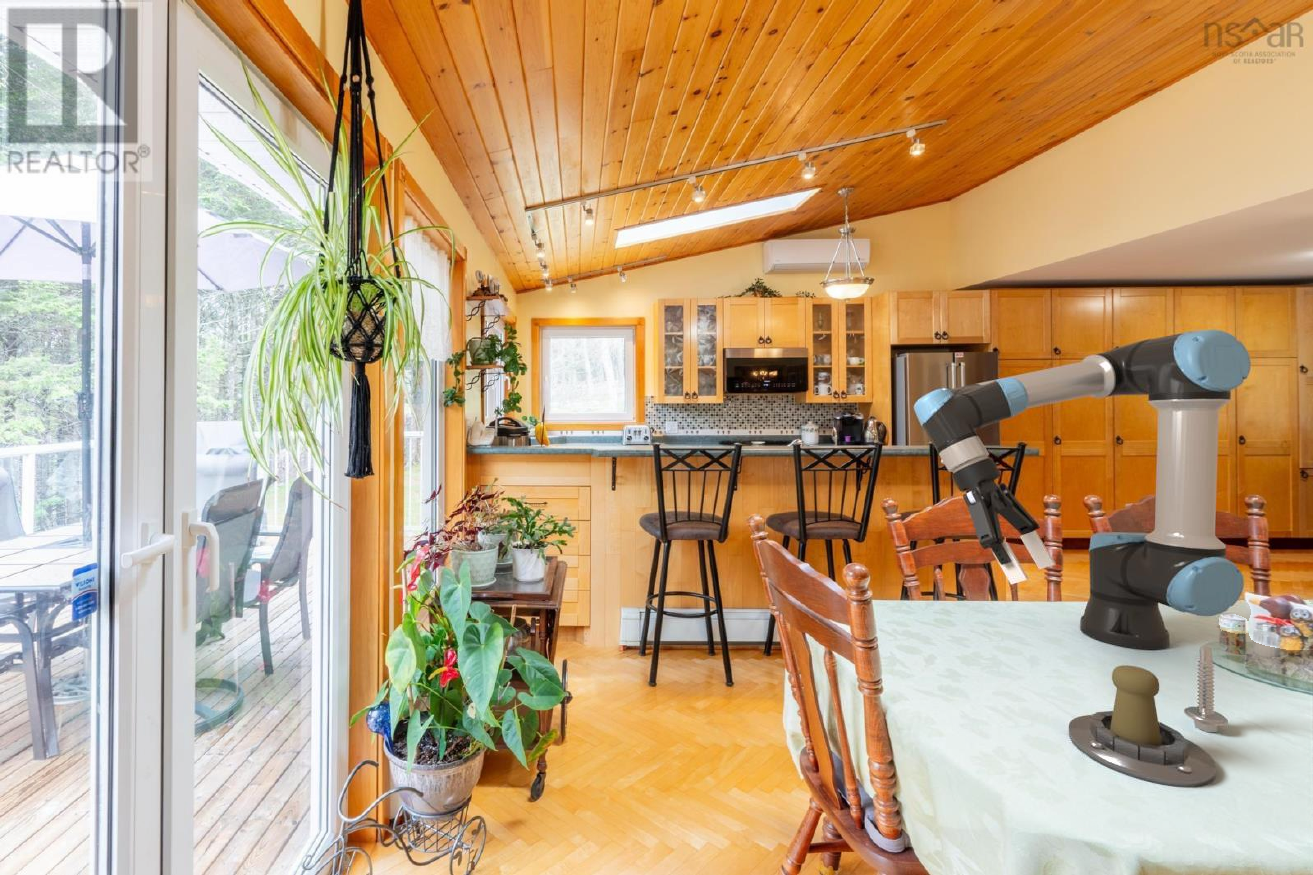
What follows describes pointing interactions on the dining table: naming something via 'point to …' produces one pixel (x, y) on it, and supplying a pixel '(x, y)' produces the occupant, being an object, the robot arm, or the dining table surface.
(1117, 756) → the flange
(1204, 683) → the screw
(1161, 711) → the dining table surface
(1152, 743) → the cork
